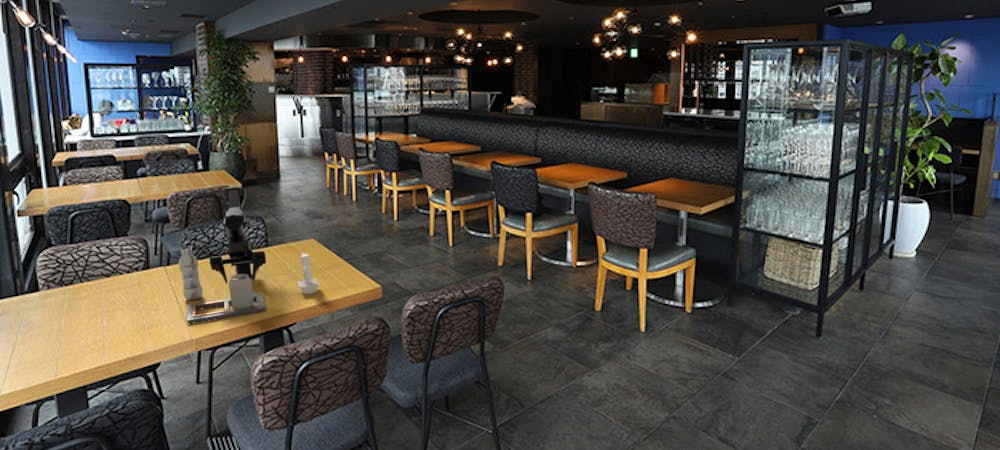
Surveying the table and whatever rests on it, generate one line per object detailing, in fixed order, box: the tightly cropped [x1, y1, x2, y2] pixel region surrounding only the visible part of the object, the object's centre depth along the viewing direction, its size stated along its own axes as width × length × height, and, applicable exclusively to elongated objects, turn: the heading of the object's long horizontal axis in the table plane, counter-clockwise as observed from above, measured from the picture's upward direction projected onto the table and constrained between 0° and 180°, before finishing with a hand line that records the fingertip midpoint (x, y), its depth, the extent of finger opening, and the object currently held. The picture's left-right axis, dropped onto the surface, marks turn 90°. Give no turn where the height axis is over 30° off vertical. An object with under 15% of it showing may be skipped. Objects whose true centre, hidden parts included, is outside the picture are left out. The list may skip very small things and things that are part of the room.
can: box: [228, 274, 255, 310], centre depth 216 cm, size 8×8×12 cm
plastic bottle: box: [177, 246, 204, 301], centre depth 224 cm, size 6×7×20 cm
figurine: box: [296, 252, 320, 295], centre depth 230 cm, size 7×9×15 cm
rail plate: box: [186, 292, 267, 324], centre depth 216 cm, size 25×15×2 cm, turn 115°
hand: (240, 280), depth 217 cm, fingers open, 9 cm apart
